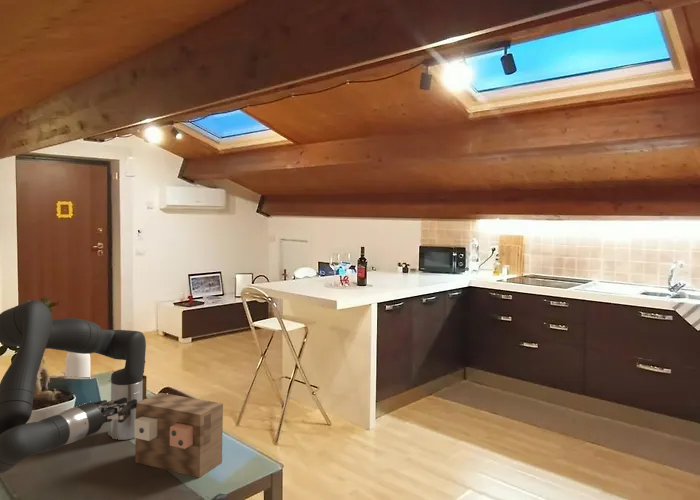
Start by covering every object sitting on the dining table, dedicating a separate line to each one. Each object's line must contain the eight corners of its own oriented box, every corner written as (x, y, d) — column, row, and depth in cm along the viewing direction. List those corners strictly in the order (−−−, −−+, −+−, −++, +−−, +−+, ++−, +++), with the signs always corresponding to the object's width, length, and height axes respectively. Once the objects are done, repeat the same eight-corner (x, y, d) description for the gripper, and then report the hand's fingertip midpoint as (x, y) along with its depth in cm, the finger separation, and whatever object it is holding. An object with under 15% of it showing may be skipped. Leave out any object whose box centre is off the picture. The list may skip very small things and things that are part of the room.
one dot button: (134, 438, 146) (134, 420, 146) (147, 431, 151) (147, 414, 151) (148, 441, 145) (148, 422, 144) (161, 434, 149) (162, 416, 149)
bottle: (64, 417, 183) (64, 330, 182) (66, 410, 191) (66, 326, 189) (90, 414, 187) (90, 329, 185) (91, 407, 194) (91, 325, 192)
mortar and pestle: (143, 410, 192) (143, 360, 191) (127, 408, 193) (127, 359, 193) (153, 404, 199) (154, 356, 198) (137, 403, 200) (138, 355, 199)
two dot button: (169, 445, 142) (169, 427, 142) (182, 438, 147) (182, 420, 147) (184, 449, 140) (184, 430, 140) (197, 441, 145) (197, 423, 145)
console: (135, 462, 151) (135, 402, 150) (160, 448, 160) (160, 392, 159) (199, 477, 143) (200, 414, 142) (222, 462, 152) (222, 403, 151)
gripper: (98, 412, 123) (152, 391, 139) (54, 403, 128) (110, 384, 144) (98, 444, 123) (151, 420, 139) (53, 434, 128) (110, 412, 144)
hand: (130, 402), depth 141 cm, fingers open, 3 cm apart
